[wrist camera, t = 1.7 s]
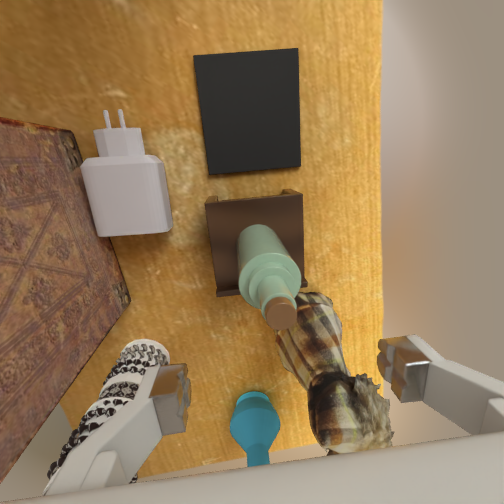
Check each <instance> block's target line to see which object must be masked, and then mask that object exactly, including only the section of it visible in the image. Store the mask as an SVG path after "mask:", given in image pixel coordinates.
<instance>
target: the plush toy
mask: <svg viewBox="0 0 504 504" xmlns="http://www.w3.org/2000/svg"><path fill="white" fill-rule="evenodd" d="M294 300H295V302H296V306H297V309H296V311H297V319H296V321H295V323H294V324H293V325H292V326H291V327H290V328H288V329H286V330H275V329H274V331H275V334H276V341H275V346H276V349H277V352H278V355H279V357H280V360H281V362H282V364H283V366H284V368H285V369H286V370H288V371H290V372H292V373H293V374H294V375H295V376H296V378H297V379H298V381H299V383H300V384H301V385H302V386H303V387H304V388H305V390H306V391H307V396H308V411H309V420H310V426H311V429H312V432H313V434H314V436H315V438H316V440H317V442H318V443H319V444H320V446H321V447H323V448H324V449H325V451H326V452H327V449H329V452H328V454H327V456H329V455H336V454H343V453H350V452H357V451H364V450H371V449H379V448H386V447H393V446H392V442H391V439H392V437H393V434H394V432H391V426H390V419H389V406H390V402H389V399H384V398H383V397H382V396H380V395H379V394H377V389H379V387H380V385H381V384H378V385H374V384H373V382H372V378H368V379H367V374H365V373H364V374H362V375H359V374H357V375H356V377H351V374H350V372H349V370H348V369H347V368H346V365H345V361H344V358H343V352H342V345H341V340H342V323H341V321H340V319H339V318H338V316H337V314H336V313H335V311H334V310H333V308H332V307H333V303H332V301H331V299H329V298H328V297H325V296H324V295H322V294H321V293H315V292H309V293H303V292H302V293H301V292H298V294H297V295H296V297H295V298H294Z"/></svg>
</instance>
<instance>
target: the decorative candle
mask: <svg viewBox="0 0 504 504" xmlns="http://www.w3.org/2000/svg"><path fill="white" fill-rule="evenodd" d="M120 356H121V358H118V359H117V360H116V362H117V363H118V364H117V365H113V368H112V369H111V372H110V373H109V374H108V376H107V377H106V381H104V383H103V386H104V387H103V388H102V390H101V392H100V394H99V398H98V400H97V402H95V403H93V404H92V406H91V407H90V408H89V409H88V411H87V412H86V414H85V415H84V416H83V417H82V418H81V422H80V424H79V427H78V429H75V430H74V431H73V432H72V434H71V437H70V438H69V442H68V443H67V444H65V445H64V446H63V448H62V453H61V456H60V457H61V458H59V459H58V460H57V461H56V462H54V463H52V464H51V466H50V468H49V471H48V473H47V476H48V478H49V479H50V481H49V483H48V484H47V486H46V488H45V490H44V491H43V495H42V496H45V494H46V492H47V491H48V489H49V487H50V485H51V484H52V482H53V480H54V478H55V477H56V475H57V473H58V471H59V470H60V468H61V466H62V464H63V463H64V461H65V459H66V457H67V456H68V454H69V453H71V452H72V451H73V450H74V449H75V448H76V447H77V446H79V445H80V444H81V443H82V442H83V441H84V440H85V439H87V438H88V437H89V436H90V435H91V434H92V433H93V432H94V431H96V430H97V429H98V428H99V427H100V426H101V425H102V424H104V423H105V422H106V421H107V420H108V419H109V418H110V417H112V416H113V415H114V414H115V413H116V412H117V411H118V410H120V409H121V408H122V407H123V406H124V405H125V404H126V403H128V402H129V401H132V400H134V397H135V395H136V393H137V390H138V388H139V385H140V383H141V381H142V378H143V376H144V374H145V371H146V369H147V368H148V367H153V366H161V365H169V362H170V356H169V352H168V351H167V349H166V348H165V347H164V346H163V345H162V344H160V343H158V342H157V341H155V340H150V339H138V340H134V341H132V342H130V343H128V344H127V345H126V346H125V348H124V349H123V350H122V352H121V353H120ZM78 433H79V435H78ZM77 435H78V437H77ZM57 467H58V470H57ZM59 467H60V468H59ZM136 481H137V473H136V474H135V475H134V477H133V478H132V480H131V481H130V483H129V484H132V483H136Z"/></svg>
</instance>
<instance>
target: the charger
mask: <svg viewBox="0 0 504 504" xmlns="http://www.w3.org/2000/svg"><path fill="white" fill-rule="evenodd" d="M103 113H104V118H105V122H106V127H107V129H97V130H93V133H94V137H95V141H96V146H97V150H98V154H99V157H96V158H86V159H85V161H84V162H83V164H82V165H81V166H80V169H81V173H82V176H83V180H84V184H85V188H86V192H87V196H88V200H89V204H90V207H91V211H92V215H93V219H94V223H95V227H96V231H97V235H98V236H99V237H108V236H122V235H136V234H150V233H161V232H167V231H169V230H170V229H171V228H172V227H173V220H172V214H171V207H170V201H169V195H168V188H167V182H166V176H165V169H164V163H163V162H162V161H161V160H160V159H158V158H157V157H156V156H154V155H145V151H144V145H143V140H142V134H141V128H126V126H125V121H124V116H123V111H122V110H121V109H119V110H118V114H119V119H120V124H121V128H111V124H110V119H109V114H108V111H107V110H104V111H103Z"/></svg>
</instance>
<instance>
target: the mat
mask: <svg viewBox="0 0 504 504" xmlns="http://www.w3.org/2000/svg"><path fill="white" fill-rule="evenodd" d="M193 57H194V65H195V72H196V79H197V87H198V94H199V102H200V109H201V117H202V124H203V132H204V139H205V146H206V154H207V161H208V169H209V175H213V174H224V173H234V172H245V171H256V170H267V169H278V168H289V167H299V166H301V148H300V102H299V57H298V48H292V49H278V50H264V51H250V52H236V53H222V54H208V55H194V56H193Z"/></svg>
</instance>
